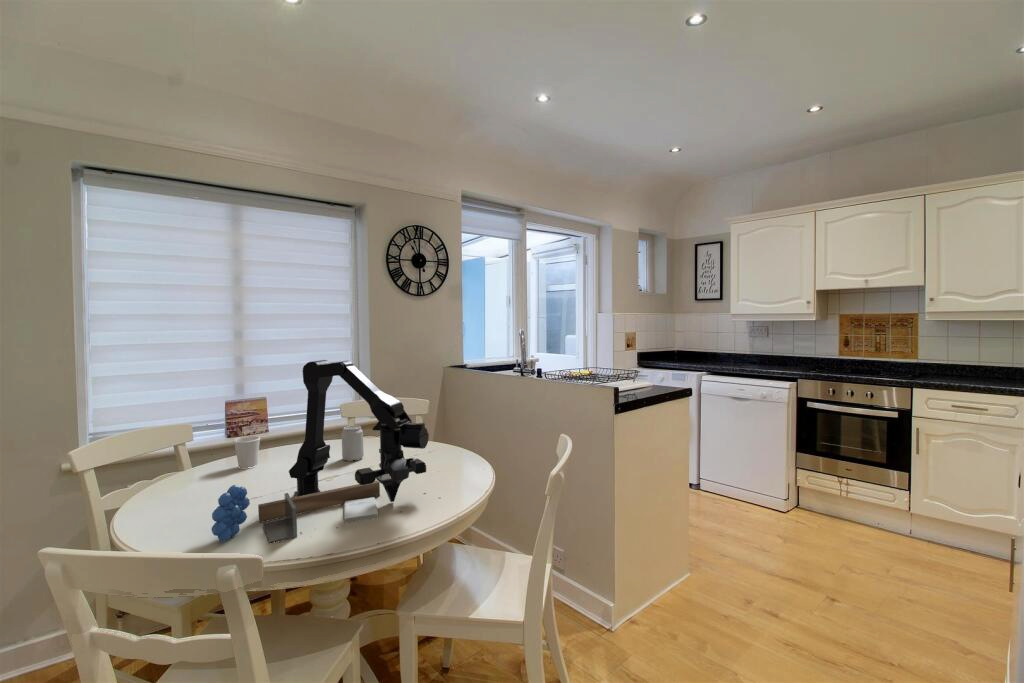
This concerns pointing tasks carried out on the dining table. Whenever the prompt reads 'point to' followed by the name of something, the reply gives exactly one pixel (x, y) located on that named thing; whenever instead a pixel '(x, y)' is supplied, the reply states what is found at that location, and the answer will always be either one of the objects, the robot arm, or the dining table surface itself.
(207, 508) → the dining table surface
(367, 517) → the external hard drive
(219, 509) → the grapes
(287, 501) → the bookend
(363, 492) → the rail
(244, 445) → the dixie cup
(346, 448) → the can
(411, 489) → the dining table surface
